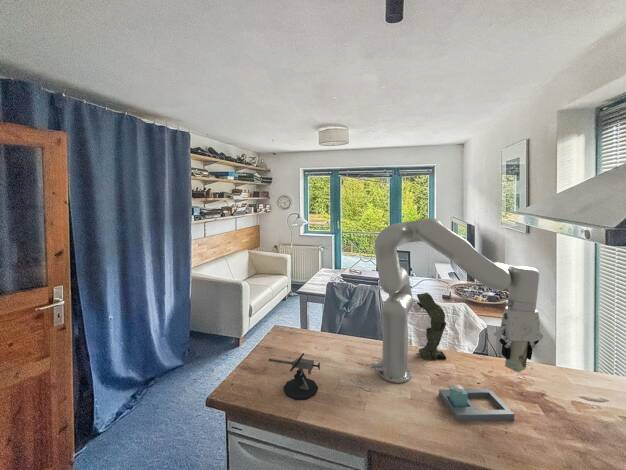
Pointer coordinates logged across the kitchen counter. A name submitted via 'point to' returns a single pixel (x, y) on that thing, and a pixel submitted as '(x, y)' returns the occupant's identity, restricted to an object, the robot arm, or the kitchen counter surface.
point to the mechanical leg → (432, 327)
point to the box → (517, 356)
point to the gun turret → (300, 379)
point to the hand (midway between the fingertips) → (516, 357)
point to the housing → (471, 412)
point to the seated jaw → (458, 396)
